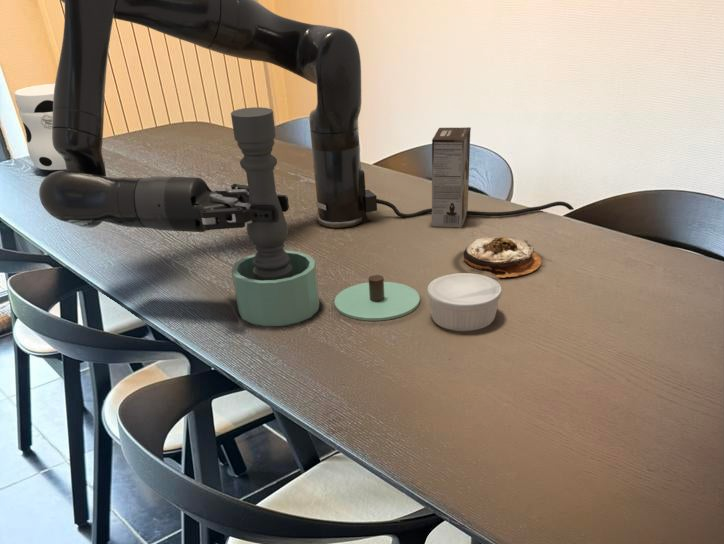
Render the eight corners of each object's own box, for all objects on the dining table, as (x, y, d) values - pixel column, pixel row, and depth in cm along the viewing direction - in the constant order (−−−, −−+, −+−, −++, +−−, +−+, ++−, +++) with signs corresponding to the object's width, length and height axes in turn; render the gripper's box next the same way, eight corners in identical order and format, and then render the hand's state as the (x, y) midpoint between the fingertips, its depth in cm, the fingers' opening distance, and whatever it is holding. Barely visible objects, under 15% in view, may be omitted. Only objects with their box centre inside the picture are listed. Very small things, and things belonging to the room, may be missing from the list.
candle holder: (295, 280, 115) (275, 105, 98) (294, 296, 110) (274, 116, 94) (256, 282, 114) (230, 108, 98) (254, 298, 110) (226, 118, 93)
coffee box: (437, 211, 148) (438, 126, 137) (468, 212, 147) (471, 126, 136) (430, 227, 141) (431, 138, 131) (462, 228, 140) (466, 139, 130)
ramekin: (479, 343, 104) (481, 309, 100) (413, 327, 108) (413, 294, 105) (511, 313, 111) (514, 280, 107) (448, 299, 115) (449, 267, 112)
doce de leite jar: (92, 177, 178) (68, 95, 166) (24, 179, 178) (-4, 98, 166) (113, 158, 191) (92, 81, 179) (50, 160, 191) (25, 83, 180)
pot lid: (400, 282, 121) (399, 255, 118) (433, 313, 112) (434, 285, 109) (323, 297, 118) (321, 270, 115) (351, 331, 108) (349, 303, 105)
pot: (306, 289, 121) (301, 245, 116) (329, 319, 112) (325, 272, 107) (232, 303, 117) (224, 258, 112) (250, 335, 108) (242, 288, 103)
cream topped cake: (443, 271, 124) (443, 247, 121) (474, 242, 134) (475, 219, 131) (524, 283, 119) (526, 259, 116) (550, 252, 129) (553, 229, 126)
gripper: (146, 192, 99) (264, 197, 96) (187, 163, 109) (294, 167, 106) (159, 246, 103) (271, 252, 101) (197, 214, 114) (299, 218, 111)
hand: (282, 208), depth 103 cm, fingers closed on candle holder, 4 cm apart
